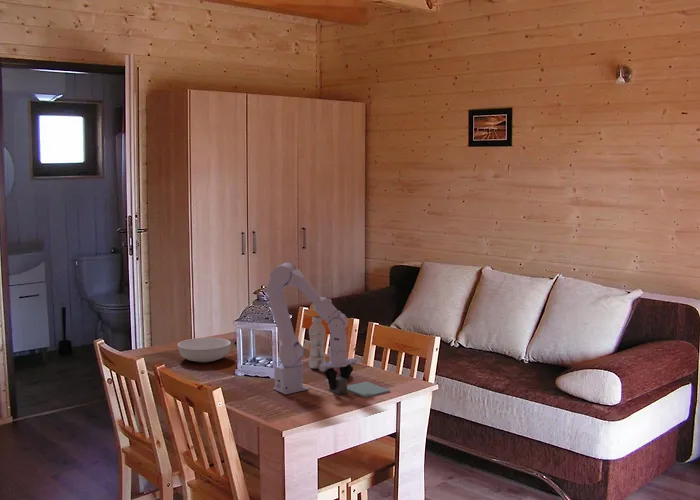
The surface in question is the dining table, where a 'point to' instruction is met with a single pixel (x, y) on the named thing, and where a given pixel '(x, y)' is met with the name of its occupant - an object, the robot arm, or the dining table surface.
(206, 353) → the serving bowl
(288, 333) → the robot arm
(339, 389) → the connector plug
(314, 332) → the plastic bottle
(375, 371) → the dining table surface
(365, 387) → the rubber mat
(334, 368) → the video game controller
